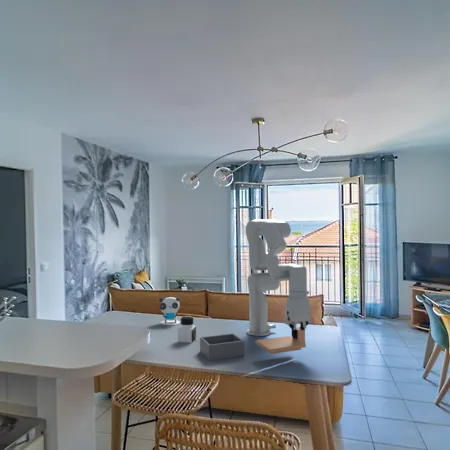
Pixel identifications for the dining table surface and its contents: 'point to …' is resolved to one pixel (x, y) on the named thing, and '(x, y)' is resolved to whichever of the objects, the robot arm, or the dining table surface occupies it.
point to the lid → (283, 343)
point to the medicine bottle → (187, 330)
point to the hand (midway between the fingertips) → (298, 337)
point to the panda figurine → (170, 310)
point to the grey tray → (221, 346)
